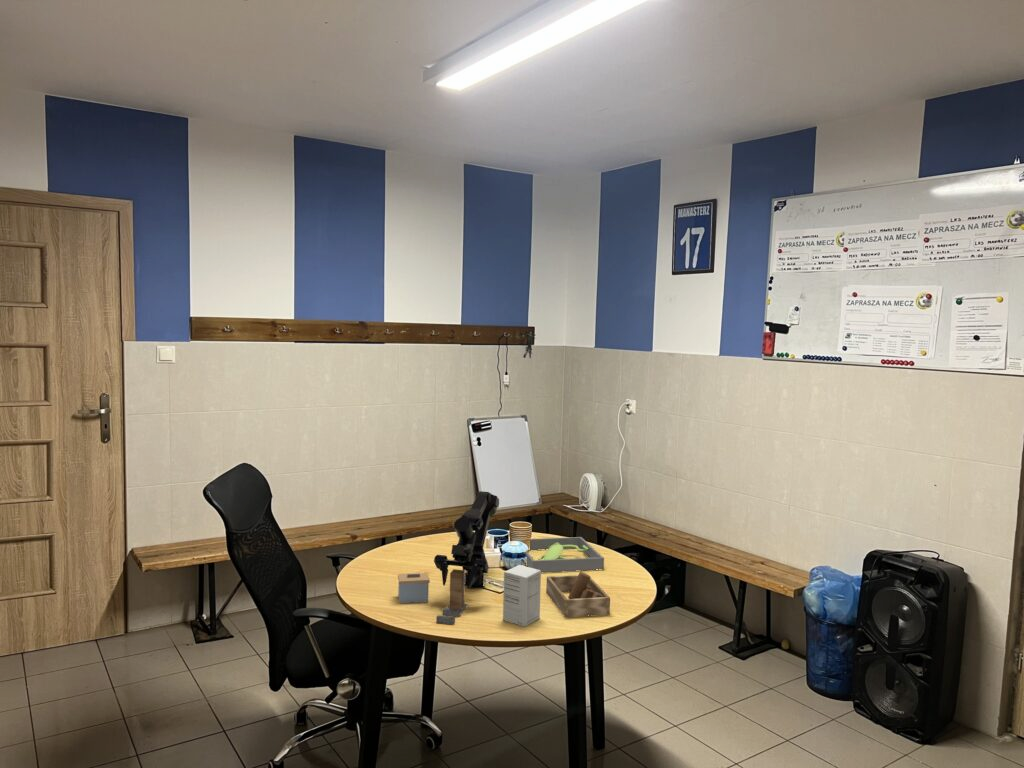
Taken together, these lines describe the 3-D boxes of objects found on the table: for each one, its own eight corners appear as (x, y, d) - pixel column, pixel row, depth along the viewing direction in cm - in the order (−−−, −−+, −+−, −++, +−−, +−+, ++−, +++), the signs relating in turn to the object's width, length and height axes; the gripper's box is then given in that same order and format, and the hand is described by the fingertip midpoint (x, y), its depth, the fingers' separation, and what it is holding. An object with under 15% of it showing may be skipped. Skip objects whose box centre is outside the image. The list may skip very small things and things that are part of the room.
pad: (450, 604, 263) (450, 602, 263) (467, 605, 261) (467, 604, 261) (445, 610, 257) (445, 608, 257) (462, 612, 256) (462, 610, 256)
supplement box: (517, 611, 258) (519, 564, 256) (540, 618, 252) (542, 569, 251) (501, 620, 250) (503, 571, 248) (524, 627, 244) (526, 577, 243)
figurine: (592, 556, 322) (593, 544, 322) (564, 573, 299) (565, 560, 299) (554, 549, 331) (554, 536, 331) (524, 565, 308) (525, 551, 308)
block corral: (587, 590, 280) (587, 574, 280) (609, 614, 257) (610, 597, 256) (546, 592, 277) (546, 576, 276) (564, 617, 253) (565, 600, 253)
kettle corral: (580, 547, 333) (581, 536, 332) (603, 569, 304) (604, 557, 303) (515, 550, 326) (515, 539, 326) (532, 573, 297) (532, 561, 297)
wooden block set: (600, 619, 259) (612, 592, 259) (578, 611, 257) (591, 584, 257) (581, 598, 276) (593, 573, 276) (562, 590, 274) (573, 565, 274)
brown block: (452, 604, 261) (453, 569, 260) (463, 605, 260) (464, 570, 259) (449, 608, 257) (450, 573, 256) (460, 609, 256) (461, 574, 255)
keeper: (443, 613, 254) (443, 607, 254) (460, 615, 253) (460, 609, 253) (436, 622, 246) (436, 616, 246) (453, 624, 245) (453, 618, 245)
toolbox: (426, 594, 272) (427, 570, 271) (429, 601, 264) (429, 577, 263) (397, 595, 269) (397, 571, 269) (399, 603, 262) (399, 578, 261)
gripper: (435, 532, 262) (425, 573, 253) (487, 536, 259) (478, 578, 249) (442, 547, 271) (432, 587, 261) (492, 552, 267) (483, 593, 257)
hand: (456, 586), depth 257 cm, fingers open, 9 cm apart
